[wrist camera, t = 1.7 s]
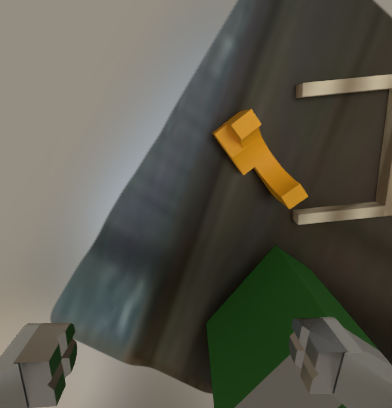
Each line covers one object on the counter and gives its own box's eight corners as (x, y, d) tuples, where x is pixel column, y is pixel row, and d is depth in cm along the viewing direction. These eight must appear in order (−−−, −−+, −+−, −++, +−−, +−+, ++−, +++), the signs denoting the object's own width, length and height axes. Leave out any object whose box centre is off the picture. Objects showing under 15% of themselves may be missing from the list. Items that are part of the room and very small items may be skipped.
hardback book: (240, 342, 44) (299, 582, 21) (206, 323, 42) (228, 558, 19) (310, 269, 40) (477, 466, 17) (275, 245, 38) (407, 425, 15)
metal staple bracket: (403, 75, 32) (417, 71, 30) (383, 210, 37) (394, 215, 35) (295, 85, 32) (302, 82, 30) (292, 219, 37) (298, 224, 35)
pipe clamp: (211, 133, 33) (217, 135, 27) (239, 111, 32) (251, 109, 26) (261, 201, 36) (276, 218, 30) (287, 183, 36) (308, 196, 29)
